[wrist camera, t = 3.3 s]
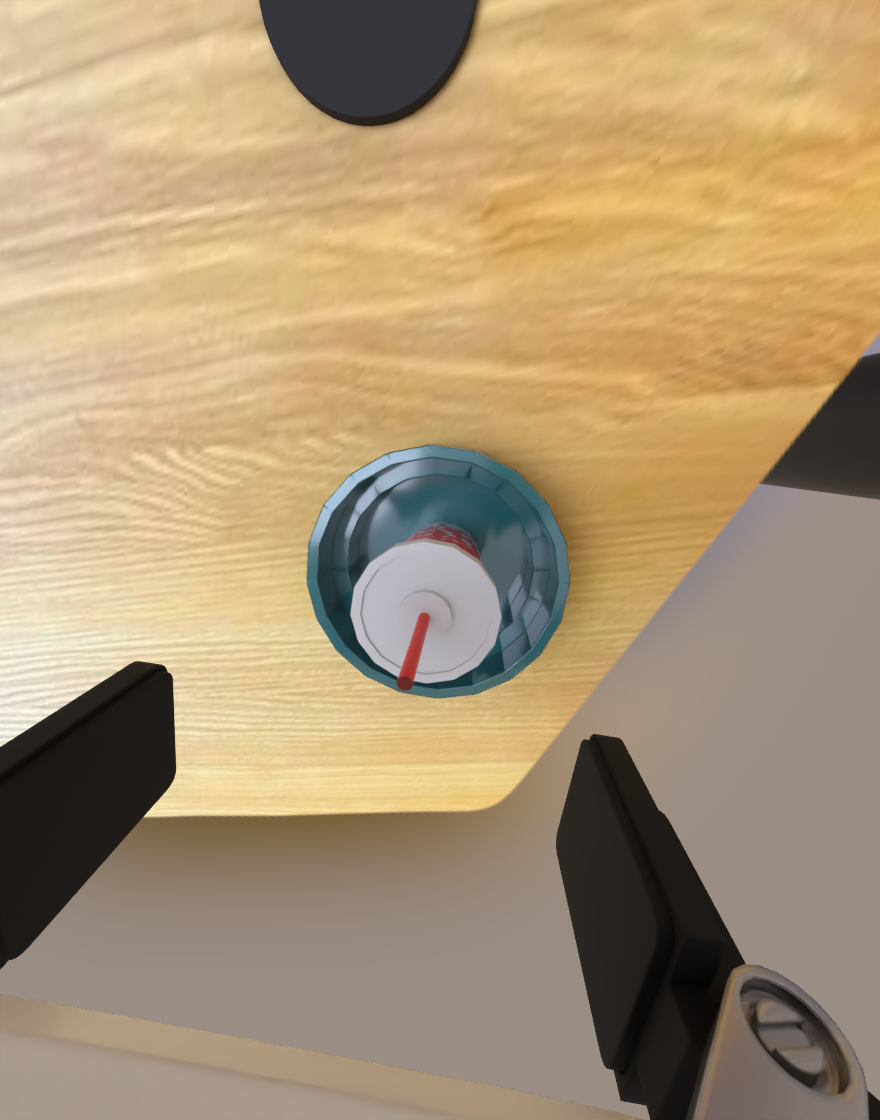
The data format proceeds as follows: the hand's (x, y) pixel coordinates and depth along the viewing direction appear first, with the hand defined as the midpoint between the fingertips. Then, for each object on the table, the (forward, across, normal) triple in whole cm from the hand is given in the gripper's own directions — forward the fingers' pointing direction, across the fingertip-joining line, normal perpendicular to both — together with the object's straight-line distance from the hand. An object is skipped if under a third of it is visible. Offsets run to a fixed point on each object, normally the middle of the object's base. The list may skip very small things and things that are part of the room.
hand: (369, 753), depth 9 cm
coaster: (+17, +6, -26) cm, 32 cm away
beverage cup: (+17, -1, 0) cm, 17 cm away
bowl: (+17, -1, 0) cm, 17 cm away
